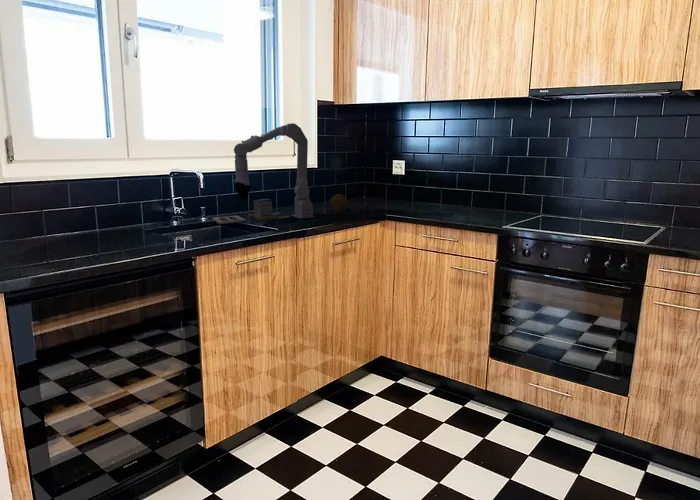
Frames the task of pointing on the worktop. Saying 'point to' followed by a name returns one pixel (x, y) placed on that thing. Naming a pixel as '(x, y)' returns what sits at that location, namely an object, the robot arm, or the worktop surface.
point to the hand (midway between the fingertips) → (243, 199)
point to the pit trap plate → (228, 219)
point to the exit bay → (280, 217)
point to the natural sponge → (339, 203)
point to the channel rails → (264, 217)
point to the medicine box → (262, 208)
